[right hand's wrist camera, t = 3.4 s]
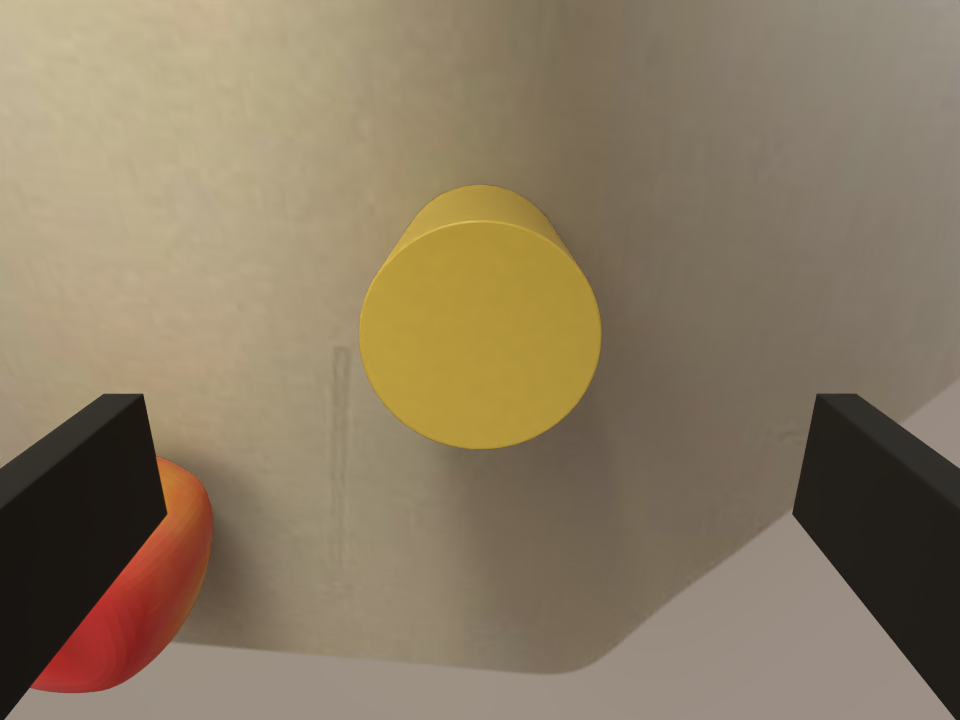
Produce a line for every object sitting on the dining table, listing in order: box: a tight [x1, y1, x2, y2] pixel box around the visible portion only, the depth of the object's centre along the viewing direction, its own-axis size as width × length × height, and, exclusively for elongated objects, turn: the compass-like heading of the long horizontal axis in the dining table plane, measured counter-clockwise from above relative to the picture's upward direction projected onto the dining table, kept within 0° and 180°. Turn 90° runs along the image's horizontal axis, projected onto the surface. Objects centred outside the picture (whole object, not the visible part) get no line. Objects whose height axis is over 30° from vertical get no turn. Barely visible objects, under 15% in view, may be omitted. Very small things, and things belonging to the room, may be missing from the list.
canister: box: [359, 185, 602, 450], centre depth 23 cm, size 7×7×10 cm
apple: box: [30, 456, 213, 693], centre depth 27 cm, size 10×10×10 cm
